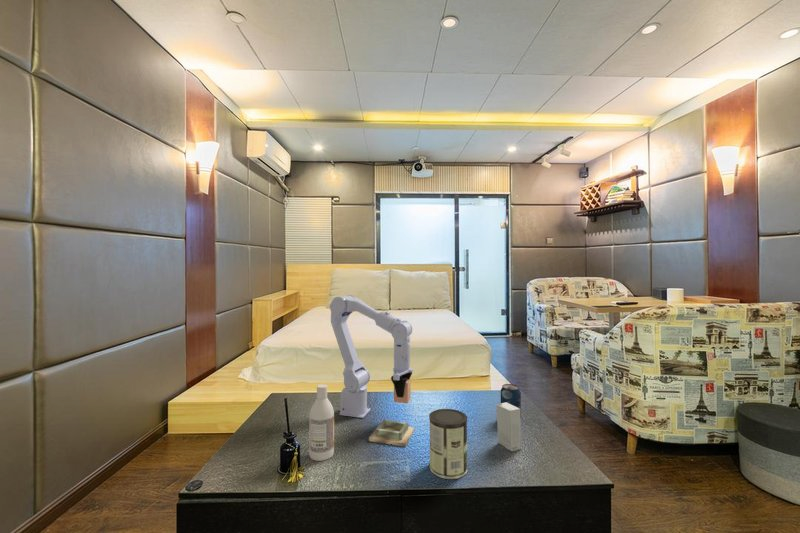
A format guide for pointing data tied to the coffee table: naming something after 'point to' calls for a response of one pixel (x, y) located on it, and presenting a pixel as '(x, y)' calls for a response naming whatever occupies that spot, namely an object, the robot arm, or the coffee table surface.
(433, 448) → the coffee can
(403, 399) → the keyed peg
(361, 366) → the robot arm
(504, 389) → the soda can
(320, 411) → the bath foam
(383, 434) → the socket stand
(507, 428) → the skincare box
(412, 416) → the coffee table surface
